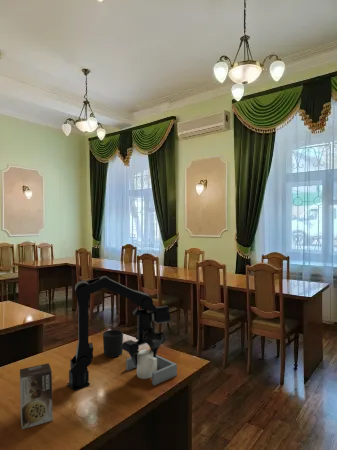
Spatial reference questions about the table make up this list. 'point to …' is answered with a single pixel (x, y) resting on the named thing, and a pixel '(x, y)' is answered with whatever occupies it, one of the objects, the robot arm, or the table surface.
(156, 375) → the frame
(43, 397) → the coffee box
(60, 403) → the table surface
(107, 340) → the pen holder
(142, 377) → the jug
